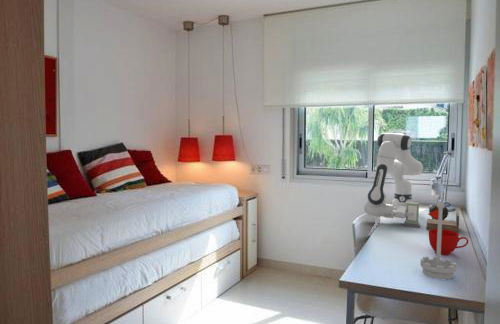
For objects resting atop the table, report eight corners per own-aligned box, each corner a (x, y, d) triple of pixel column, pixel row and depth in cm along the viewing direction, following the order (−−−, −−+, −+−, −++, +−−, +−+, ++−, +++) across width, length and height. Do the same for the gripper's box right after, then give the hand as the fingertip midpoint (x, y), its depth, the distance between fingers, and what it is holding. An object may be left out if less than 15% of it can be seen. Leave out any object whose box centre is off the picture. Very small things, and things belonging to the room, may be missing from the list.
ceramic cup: (467, 260, 170) (468, 238, 169) (426, 254, 178) (427, 233, 178) (467, 252, 181) (468, 232, 181) (428, 247, 190) (429, 228, 189)
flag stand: (444, 268, 159) (447, 198, 157) (463, 280, 146) (466, 204, 144) (414, 268, 158) (417, 198, 156) (430, 280, 145) (433, 204, 143)
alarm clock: (445, 221, 250) (446, 197, 248) (449, 222, 244) (450, 198, 243) (428, 220, 251) (429, 196, 250) (431, 222, 245) (432, 198, 244)
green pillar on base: (404, 223, 242) (405, 201, 241) (420, 224, 238) (420, 202, 237) (403, 226, 234) (404, 203, 233) (419, 228, 230) (420, 204, 229)
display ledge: (427, 224, 239) (427, 209, 238) (457, 227, 231) (458, 211, 230) (426, 229, 226) (427, 213, 226) (458, 232, 219) (459, 216, 218)
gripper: (388, 209, 232) (413, 211, 226) (392, 203, 250) (415, 205, 244) (388, 219, 233) (412, 221, 226) (392, 213, 251) (414, 215, 245)
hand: (413, 213), depth 235 cm, fingers open, 8 cm apart
